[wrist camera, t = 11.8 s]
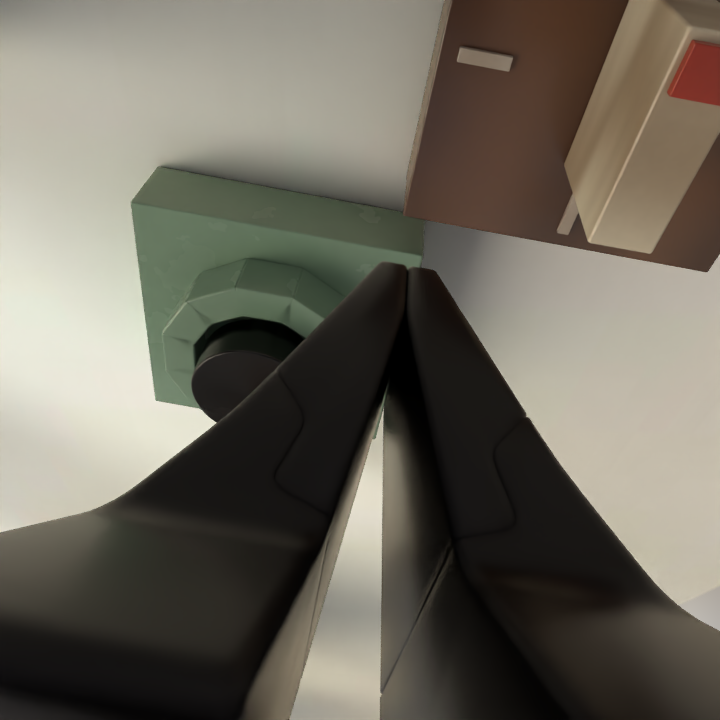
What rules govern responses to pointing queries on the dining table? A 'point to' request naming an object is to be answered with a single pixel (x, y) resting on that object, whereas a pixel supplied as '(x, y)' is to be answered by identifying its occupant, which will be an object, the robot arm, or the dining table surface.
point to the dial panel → (530, 128)
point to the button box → (249, 262)
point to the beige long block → (647, 122)
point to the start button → (238, 363)
